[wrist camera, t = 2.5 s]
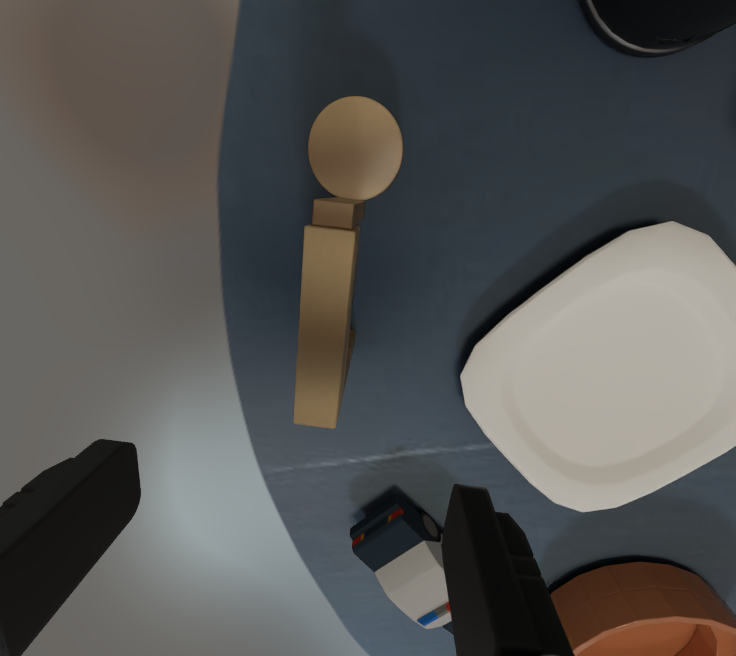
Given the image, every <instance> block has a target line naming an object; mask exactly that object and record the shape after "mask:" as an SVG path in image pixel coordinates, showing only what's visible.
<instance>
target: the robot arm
mask: <svg viewBox="0 0 736 656" xmlns="http://www.w3.org/2000/svg"><path fill="white" fill-rule="evenodd" d="M580 3H581V6H582V8H583V11H584V13H585V16H586V17H587V19H588V21H589V23H590V24H591V26H592V27H593V29H594V30H595V31H596V32H597V34H598V35H599V36H600V37H601V38H602V39H603V40H604V41H606V42H607V43H608V44H610V45H611V46H613V47H614V48H616V49H618V50H620V51H622V52H625V53H628V54H632V55H636V56H644V57H656V56H664V55H669V54H673V53H676V52H679V51H682V50H684V49H687V48H689V47H691V46H693V45H695V44H698V43H700V42H702V41H703V40H705V39H707V38H709V37H711V36H713V35H714V34H716V33H718V32H720V31H722V30H724V29H726V28H728V27H729V26H731V25H733V24H735V23H736V0H580ZM140 497H141V488H140V478H139V469H138V460H137V451H136V447H135V445H134V444H133V443H129V442H121V441H113V440H105V439H100V440H97V441H95V442H93V443H92V444H91V445H90V446H89V447H87V448H86V449H85V450H83V451H82V452H81V453H80V454H79V455H77V456H76V457H75V458H69V459H67V460H65V461H63V462H61V463H59V464H57V465H55V466H53V467H51V468H49V469H47V470H45V471H43V472H42V473H40V474H39V475H38V476H37V477H35V478H34V479H33V480H31V481H30V482H29V483H28V484H26V485H25V486H24V487H23V488H22V489H21V491H20V492H16V493H15V494H13V495H12V496H11V497H10V498H8V499H7V500H6V501H5V502H3V505H2V506H1V507H0V656H21V655H22V654H23V652H24V651H25V650H26V649H27V648H28V646H29V645H30V644H31V643H32V641H33V640H34V639H35V637H36V636H37V635H38V634H39V633H40V631H41V630H42V629H43V628H44V627H45V625H46V624H47V623H48V622H49V620H50V619H51V618H52V617H53V615H54V614H55V613H56V612H57V610H58V609H59V608H60V607H61V605H62V604H63V603H64V602H65V601H66V599H67V598H68V597H69V596H70V594H71V593H72V592H73V590H74V589H75V588H76V587H77V586H78V585H79V583H80V582H81V581H82V579H83V578H84V577H85V576H86V575H87V573H88V572H89V571H90V570H91V568H92V567H93V566H94V565H95V564H96V562H97V561H98V560H99V559H100V557H101V556H102V555H103V554H104V552H105V551H106V550H107V549H108V547H109V546H110V545H111V544H112V543H113V541H114V540H115V539H116V538H117V536H118V535H119V534H120V533H121V531H122V530H123V529H124V528H125V527H126V525H127V524H128V523H129V522H130V520H131V519H132V517H133V516H134V514H135V512H136V510H137V508H138V505H139V502H140ZM442 559H443V566H444V573H445V580H446V587H447V593H448V600H449V607H450V614H451V620H452V627H453V634H454V640H455V647H456V654H457V656H575V655H574V653H573V651H572V648H571V646H570V643H569V641H568V638H567V636H566V633H565V631H564V628H563V626H562V624H561V621H560V619H559V616H558V614H557V611H556V609H555V606H554V604H553V602H552V599H551V597H550V594H549V592H548V589H547V587H546V584H545V582H544V579H543V578H541V572H540V570H539V567H538V565H537V562H536V560H535V559H534V558H533V552H532V550H531V548H530V545H529V543H528V540H527V538H526V535H525V533H524V532H523V530H522V529H521V528H520V527H519V526H518V524H517V523H516V522H515V521H514V520H513V519H512V517H511V516H510V515H509V514H508V513H500V512H495V510H494V507H493V504H492V501H491V498H490V495H489V492H488V490H487V489H486V488H484V487H476V486H468V485H460V484H455V485H454V486H453V489H452V493H451V498H450V502H449V507H448V511H447V516H446V520H445V525H444V530H443V536H442Z"/></svg>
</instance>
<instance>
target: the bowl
mask: <svg viewBox="0 0 736 656" xmlns="http://www.w3.org/2000/svg"><path fill="white" fill-rule="evenodd" d="M550 597H551V599H552V602H553V604H554V606H555V609H556V611H557V614H558V616H559V619H560V621H561V624H562V626H563V628H564V631H565V633H566V636H567V638H568V641H569V643H570V646H571V648H572V651H573V653H574V655H575V656H736V615H735V614H734V612H733V611H732V610H731V609H730V607H729V606H728V605H727V604H726V603H725V601H724V600H723V599H722V598H721V597H720V595H719V594H718V593H717V592H716V591H715V590H714V589H713V588H712V587H711V586H710V585H708V584H707V583H706V582H705V581H704V580H703V579H701V578H700V577H699V576H698V575H696V574H694V573H691V572H688V571H686V570H683V569H680V568H678V567H675V566H673V565H669V564H659V563H649V562H632V563H624V564H615V565H608V566H604V567H601V568H598V569H595V570H592V571H589V572H586V573H584V574H581V575H578V576H576V577H575V578H573V579H572V580H570V581H569V582H567V583H565V584H564V585H562V586H561V587H559V588H558V589H556V590H555V591H554V592H552V593H551V595H550Z"/></svg>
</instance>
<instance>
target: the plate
mask: <svg viewBox="0 0 736 656" xmlns="http://www.w3.org/2000/svg"><path fill="white" fill-rule="evenodd" d="M460 378H461V384H462V389H463V395H464V401H465V406H466V407H467V409H468V410H469V412H470V413H471V415H472V416H473V418H474V419H475V420H476V422H477V423H478V425H479V426H480V428H481V429H482V431H483V432H484V434H485V435H486V436H487V437H488V438H489V439H490V440H491V441H492V443H493V444H494V445H495V446H496V447H497V448H498V449H499V450H500V451H501V453H502V454H503V455H504V456H505V457H506V458H507V459H508V460H509V461H510V462H511V464H512V465H513V466H514V467H515V468H516V469H517V470H518V471H519V472H520V473H521V474H522V475H523V476H524V477H525V478H526V479H527V480H528V481H529V482H530V483H531V484H532V485H533V486H534V487H536V488H537V489H538V490H539V491H540V492H542V493H543V494H544V495H545V496H547V497H548V498H549V499H550V500H552V501H553V502H554V503H556V504H559V505H562V506H565V507H568V508H571V509H574V510H577V511H580V512H589V511H596V510H603V509H610V508H616V507H619V506H621V505H624V504H626V503H628V502H631V501H633V500H635V499H638V498H640V497H643V496H645V495H647V494H650V493H652V492H654V491H656V490H658V489H660V488H661V487H663V486H665V485H667V484H669V483H671V482H673V481H675V480H677V479H678V478H680V477H682V476H684V475H686V474H688V473H690V472H692V471H693V470H695V469H697V468H699V467H700V466H702V465H704V464H706V463H708V462H709V461H711V460H713V459H715V458H717V457H718V456H720V455H722V454H724V453H725V452H727V451H729V450H730V449H731V448H733V447H734V446H736V265H735V264H734V263H733V262H732V261H731V260H730V259H729V258H728V256H727V255H726V254H725V253H724V252H723V251H722V250H721V249H720V247H719V246H718V245H717V244H716V243H715V242H714V241H713V240H712V238H711V237H710V236H709V235H707V234H704V233H702V232H699V231H697V230H694V229H691V228H689V227H686V226H684V225H681V224H679V223H676V222H674V221H668V222H664V223H660V224H655V225H651V226H646V227H642V228H637V229H633V230H629V231H626V232H625V233H623V234H621V235H620V236H618V237H616V238H615V239H613V240H611V241H609V242H608V243H606V244H604V245H603V246H601V247H599V248H598V249H596V250H594V251H593V252H591V253H589V254H588V255H586V256H584V257H583V258H581V259H580V260H579V261H577V262H576V263H575V264H573V265H572V266H571V267H569V268H568V269H566V270H565V271H564V272H562V273H561V274H560V275H558V276H557V277H556V278H554V279H553V280H551V281H550V282H549V283H547V284H546V285H545V286H543V287H542V288H541V289H539V290H538V291H537V292H535V293H534V294H533V295H532V296H530V297H529V298H528V299H526V300H525V301H524V302H522V303H521V304H520V305H519V306H517V307H516V308H515V309H513V310H512V311H511V312H509V313H508V314H507V315H506V316H505V317H503V318H502V319H501V320H500V321H499V322H498V323H497V324H496V325H495V326H494V327H493V328H492V329H491V330H490V331H489V332H488V333H487V334H486V335H484V336H483V337H482V338H481V339H480V340H479V341H478V342H477V343H476V344H475V345H474V347H473V349H472V351H471V353H470V355H469V357H468V359H467V361H466V363H465V365H464V367H463V369H462V371H461V374H460Z"/></svg>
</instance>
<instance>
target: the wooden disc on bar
mask: <svg viewBox="0 0 736 656" xmlns="http://www.w3.org/2000/svg"><path fill="white" fill-rule="evenodd" d="M308 156H309V161H310V165H311V168H312V171H313V173H314V175H315V177H316V178H317V180H318V181H319V183H320V184H321V185H322V186H323V187H324V188H325V189H326V190H327V191H328V192H330V193H331V194H333V195H335V196H337V197H335V198H321V199H314V204H313V219H312V224H309V225H306V226H305V228H304V246H303V263H302V280H301V298H300V315H299V333H298V350H297V367H296V385H295V402H294V419H293V422H294V424H301V425H309V426H317V427H325V428H333V429H335V428H336V425H337V420H338V416H339V411H340V407H341V402H342V398H343V393H344V388H345V384H346V379H347V375H348V370H349V366H350V361H351V357H352V352H353V348H354V340H355V330H354V329H350V323H351V314H352V304H353V295H354V285H355V276H356V266H357V257H358V247H359V238H360V229H361V227H360V226H358V225H356V224H357V223H358V222H359V221H360V220H361V219H363V217H364V210H365V200H367V199H371V198H373V197H376V196H378V195H380V194H381V193H382V192H384V191H385V190H386V189H387V188H388V187H389V186H390V185H391V184H392V182H393V181H394V179H395V178H396V176H397V174H398V172H399V169H400V166H401V163H402V158H403V140H402V135H401V131H400V128H399V126H398V124H397V122H396V120H395V119H394V117H393V116H392V114H391V113H390V112H389V111H388V110H387V109H386V108H385V107H384V106H383V105H381V104H380V103H378V102H376V101H374V100H372V99H370V98H367V97H362V96H349V97H344V98H341V99H338V100H336V101H334V102H333V103H331V104H329V105H328V106H327V107H326V108H324V110H323V111H322V112H321V113H320V114H319V115H318V117H317V118H316V120H315V122H314V124H313V126H312V128H311V131H310V135H309V140H308Z"/></svg>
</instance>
